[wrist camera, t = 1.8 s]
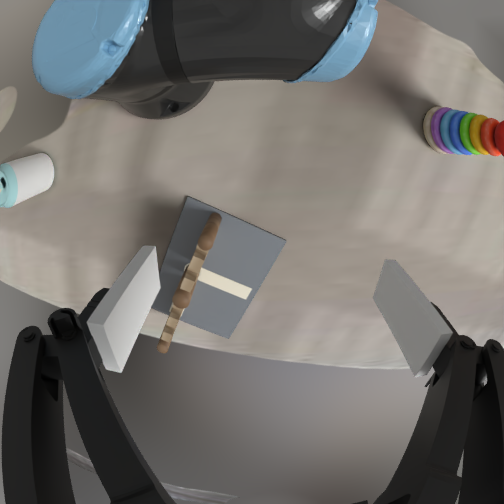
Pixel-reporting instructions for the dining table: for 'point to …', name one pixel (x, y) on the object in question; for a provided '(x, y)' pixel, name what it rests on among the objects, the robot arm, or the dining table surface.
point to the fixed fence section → (175, 314)
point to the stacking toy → (463, 132)
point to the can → (25, 178)
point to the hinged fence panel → (201, 251)
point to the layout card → (217, 268)
